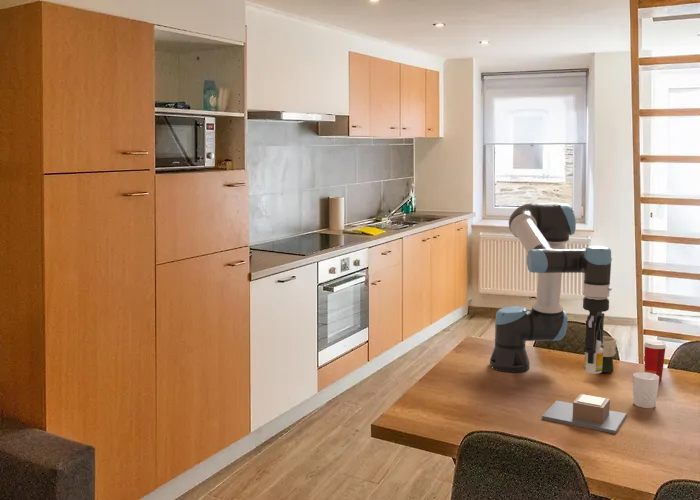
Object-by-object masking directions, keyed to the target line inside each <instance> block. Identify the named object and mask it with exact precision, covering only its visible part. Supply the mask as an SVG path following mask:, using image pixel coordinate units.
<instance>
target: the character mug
mask: <svg viewBox="0 0 700 500" xmlns="http://www.w3.org/2000/svg"><path fill="white" fill-rule="evenodd" d="M602 345H604V348H602V349H603V364H602V372H601V373H606V374H607V373H614V361H613V357H614V356H615V355H616V353H617V352H616V347H617V338H616V337H615V338H614V337H612V336H604V335H603V344H602Z"/></svg>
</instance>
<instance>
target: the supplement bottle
mask: <svg viewBox="0 0 700 500" xmlns="http://www.w3.org/2000/svg"><path fill="white" fill-rule="evenodd" d="M583 358H584V359H583V360H584V361H583V370H584V371H585V372H586V358H587V352H584V357H583ZM602 364H603V349H602V348H601V341H599V340H597V342H596V373H595V374H594V375H597V374H601V373H603V372H602Z"/></svg>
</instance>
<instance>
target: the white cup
mask: <svg viewBox="0 0 700 500" xmlns="http://www.w3.org/2000/svg"><path fill="white" fill-rule="evenodd" d="M659 382H660V381H659V376H658V375H656V374H653V373H648V372H645V371H636V372H633V374H632V383H633V384H632V396H633V405H634V406H636V407H639V408H643V409H653V408H656V407H657V406H656V404H657V398H658V392H659Z"/></svg>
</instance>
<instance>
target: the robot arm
mask: <svg viewBox="0 0 700 500" xmlns="http://www.w3.org/2000/svg"><path fill="white" fill-rule="evenodd" d="M576 224H577V222H576V216H575V212H574V209H573V207H572V206H571V204H568V203H562V202H561V203H560V202H549V203H548V202H547V203H546V202H545V203H542V202H541V203H534V202H531V203H525V204H523V205H520V206H519V207H517V208H516V209H515V210H514V211H513V212H512V213H511V215H510V217H509V219H508V228H509V231H510V232H511V235H513V236H514V237H515V238H517V239H518V240H519V242H520V243H521V245H522V247H523V248H524V249H525V251H526V252H527V254H526V265H527V270H528V271H529V272H530V273H533V274H534V273H535V274H536V273H537V288H536V300H535V302H534V303H533V304H532V305H531V310H527V308H526V307H525V306H520V305H519V306H518V305H517V306H516V305H513V306H506V307H502V308H500V309H498V310H497V311H496V313H495V320H494V324H495V327H494V329H495V330H494V348H493V351H492V353H491V356H490V359H489V366H491V367H490V368H492V367H493V368H494V370H496V369H497V371H499V370H501V371H500V372H504V371H505V372H506V373H522V372H527V371H529V369H530V359H529V356H528V353H527V352H528V351H527V350H526V349H527V348H526V342H528V341H529V342H535V341H536V342H538V341H539V342H543V341H544V342H553V341H561V340H562V339H563V338H564V337H565V335H566V333H567V329H568V314H567V312H566V311H565V310H564V307H563V306H562V304H560V302H561V301H560V300H561V288H562V275H563V273H564V274H565V273H568V274H570V273H571V274H573V273H574V274H575V273H577V274H578V273H579V274H581V273H582V274H583V273H584V274H583V289H582V290H583V292H582V293H583V296H584V297H583V298H582V309H584V310H585V311H588V312H589V314H588V315H587V319H586V321H585V343H584V350H583V353H585V352H587V358H586V371H585V373H586V374H593V375H596V374H595V373H596V342H597V340H599V341H601V348H604V345H602V344H603V336H604V323H605V322H604V320H605V315H606V314H605V312H607V311H609V310H610V299H609V297H610V291H612V289H613V288H612V287H610V285H611V273H612V272H611V271H612V270H611V269H612V260H613V258H612V250H611V248H610V247H607V246H604V245H589V246H587V247H577V248H569V249H568V248H565V244H566V243H568V242H569V241H570V236H572V235H575V233H576V227H577V226H576ZM493 368H492V369H493ZM505 372H504V373H505Z"/></svg>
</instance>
